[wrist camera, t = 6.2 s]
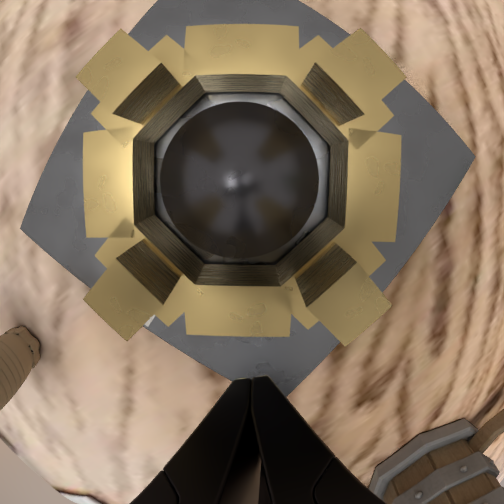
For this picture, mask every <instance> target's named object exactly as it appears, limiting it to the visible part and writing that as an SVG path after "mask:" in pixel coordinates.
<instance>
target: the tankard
mask: <svg viewBox="0 0 504 504" xmlns="http://www.w3.org/2000/svg"><path fill="white" fill-rule="evenodd" d="M503 432H504V409H503V410H502V411H500V412H499V413H498V414H497V415H495V416H494V417H493V418H492V419H490V420H489V421H488V422H486V423H485V424H484V426H483V427H482V428H481V429H480V430H478V429H477V428H475V427H474V426H473V425H472V424H471V423H469V422H468V421H467V420H466V419H461V420H458V421H456V422H453V423H450V424H448V425H445V426H442V427H439V428H437V429H434V430H431V431H428V432H425V433H422V434H419V435H418V436H416V437H415V438H414V439H413V440H411V441H410V442H409V443H408V444H406V445H405V446H404V447H403V448H401V449H400V450H399V451H397V452H396V453H395V454H393V455H392V456H391V457H389V458H388V459H387V460H385V461H384V462H382V463H381V464H380V465H378V466H377V467H376V469H375V472H374V475H373V478H372V481H371V484H370V486H369V490H371V491H372V492H373V493H374V494H375V495H377V496H378V497H379V498H380V499H382V500H383V501H384V502H386V503H387V504H504V487H501V485H500V484H499V482H498V480H497V479H496V477H497V476H498V475H499V470H498V469H497V467H496V466H495V464H494V462H493V460H491V459H490V458H488V457H487V456H485V455H484V454H483V453H484V451H485V450H486V449H487V448H488V447H489V446H490V445H491V444H492V442H493V441H494V440H495V439H496V438H497V437H498V435H500V434H502V433H503Z"/></svg>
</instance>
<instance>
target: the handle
mask: <svg viewBox="0 0 504 504" xmlns="http://www.w3.org/2000/svg"><path fill="white" fill-rule="evenodd" d="M39 359H40V354H39V342H38V340H37V339H36V338H34V337H33V336H32V335H31V334H30V333H29V332H28V330H27V328H25V327H22V326H21V327H19V328H12V329H10V330H8V331H7V332H5V334H3V335H1V336H0V410H1V409H2V408H3V407H4V406H5V405H6V404H7V403H8V402H9V401H10V399H11V398H12V397H13V396H14V395H15V393H16V392H17V391H18V389H19V388H20V387H21V385H22V384H23V382H24V381H25V379H26V378H27V376H28V375H29V373H30V371H31V369H32V368H34V367H35V366H36V364H37V363H38V361H39Z"/></svg>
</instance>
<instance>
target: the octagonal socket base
mask: <svg viewBox="0 0 504 504" xmlns="http://www.w3.org/2000/svg"><path fill="white" fill-rule="evenodd" d="M76 78H77V79H78V80H79V81H80V82H81V83H82V84H83V85H84V86H85V87H86V88H87V89H88V90H89V91H90V92H91V93H92V94H93V95H94V96H95V97H96V98H97V99H98V100H99V101H100V103H99V104H98V105H97V107H96V108H95V109H94V110H93V111H92V113H91V114H92V115H93V116H94V118H95V119H96V120H97V121H98V122H99V123H100V124H101V125H102V126H103V127H104V128H105V129H106V130H99V131H91V132H85V133H83V193H84V213H85V227H86V238H108V239H107V240H106V241H105V243H104V244H103V245H102V246H101V248H100V249H99V250H98V252H97V253H96V254H95V257H96V258H97V259H98V260H99V261H100V262H101V263H102V264H103V265H104V266H105V267H106V268H107V270H106V271H105V272H104V273H103V274H102V276H101V277H100V278H99V280H98V281H97V282H96V283H95V285H94V286H93V287H92V288H91V290H90V291H89V292H88V294H87V295H86V296H85V298H84V299H83V300H84V301H85V302H86V303H87V304H88V305H89V306H90V307H91V308H92V309H93V310H94V311H95V312H96V313H97V314H98V315H99V316H100V317H101V318H102V319H103V320H104V321H105V322H106V323H107V324H108V325H109V326H111V327H112V328H113V329H114V330H115V331H116V332H117V333H118V334H119V335H120V336H121V337H122V338H124V339H125V340H126V341H128V340H129V339H130V338H131V337H132V336H133V335H134V334H135V333H136V332H137V331H138V330H139V329H140V328H141V327H142V326H143V325H144V324H145V323H146V322H147V321H148V320H149V319H150V318H151V317H152V316H153V315H156V316H157V317H158V318H159V319H160V320H161V321H162V322H163V323H164V324H166V325H167V326H168V327H169V326H170V325H171V324H172V323H173V322H174V321H175V320H176V319H177V318H178V317H179V316H181V315H182V314H183V313H184V312H185V324H186V335H207V336H241V337H289V336H290V323H291V314H292V315H293V316H294V317H295V318H296V319H297V320H298V321H299V322H300V323H301V324H302V325H303V326H304V327H306V328H307V329H308V330H309V329H310V328H311V327H312V326H313V325H315V324H316V323H317V322H318V321H320V322H321V323H322V324H323V325H324V326H325V327H326V328H327V329H328V330H329V331H330V332H331V333H332V334H333V335H334V336H335V337H336V338H337V339H338V340H339V341H340V342H341V343H342V344H343V345H344V346H345V347H346V346H347V345H348V344H349V343H350V342H352V341H353V340H354V339H355V338H356V337H358V336H359V335H360V334H361V333H362V332H364V331H365V330H366V329H367V328H368V327H369V326H370V325H372V324H373V323H374V322H375V321H376V320H377V319H378V318H380V317H381V316H382V315H383V314H384V313H385V312H386V311H387V310H388V309H389V308H391V307H392V304H391V303H390V302H389V301H388V299H387V298H386V297H385V296H384V294H383V293H382V292H381V291H380V289H379V288H378V287H377V286H376V284H375V283H374V282H373V281H372V280H371V278H370V277H369V276H370V275H371V274H372V273H373V272H374V271H375V270H376V269H377V268H379V267H380V266H381V265H382V264H383V263H384V262H385V261H386V260H385V258H384V257H383V256H382V254H381V253H380V252H379V250H378V249H377V248H376V247H375V245H374V244H373V243H372V242H395V238H396V229H397V218H398V206H399V192H400V173H401V135H397V134H391V133H384V132H377V131H378V130H379V129H380V128H381V127H383V126H384V125H385V124H386V123H387V122H388V121H389V120H390V119H391V118H392V117H393V116H394V115H393V113H392V112H391V111H390V110H389V108H388V107H387V106H386V105H385V104H384V103H383V101H382V99H383V98H384V97H385V96H386V95H387V94H388V93H389V92H391V91H392V90H393V89H394V88H395V87H396V86H397V85H399V84H400V83H401V82H402V81H403V80H404V79H405V78H407V77H406V76H405V75H404V74H403V72H402V71H401V70H400V69H399V68H398V67H397V66H396V64H395V63H394V62H393V61H392V60H391V59H390V58H389V57H388V55H387V54H386V53H385V52H384V51H383V50H382V49H381V48H380V47H379V46H378V45H377V44H376V43H375V42H374V41H373V40H372V39H371V38H370V37H369V36H368V35H367V34H366V33H365V32H364V31H363V30H362V29H361V28H360V29H358V30H357V31H356V32H354V33H353V34H351V35H350V36H349V37H347V38H346V39H345V40H343V41H342V42H341V43H339V44H338V45H337V46H335V47H334V48H332V47H331V46H330V45H329V44H328V43H327V42H326V41H324V40H323V39H322V38H321V37H320V36H319V35H318V36H316V37H315V38H313V39H312V40H311V41H309V42H308V43H307V44H305V45H304V46H303V47H301V48H300V49H299V26H288V25H270V24H213V25H196V26H186V35H185V47H184V48H182V47H181V46H180V45H179V44H178V43H176V42H175V41H174V40H173V39H171V38H170V37H169V36H168V35H166V36H165V37H163V38H162V39H161V40H160V41H159V42H158V43H157V44H156V45H155V46H154V47H153V48H151V49H150V50H149V51H147V50H146V49H145V48H144V47H143V46H141V45H140V44H139V43H138V42H137V41H135V40H134V39H133V38H132V37H130V36H129V35H128V34H127V33H126V32H124V31H123V30H122V29H120V30H119V31H118V32H117V33H116V34H115V35H114V36H113V37H112V38H111V39H110V40H109V41H108V42H107V43H106V44H105V45H104V46H103V47H102V48H101V49H100V50H99V51H98V52H97V53H96V54H95V55H94V56H93V58H92V59H91V60H90V61H89V62H88V63H87V64H86V65H85V67H84V68H83V69H82V70H81V71H80V72H79V74H78V75H77V76H76ZM206 92H271V93H280V94H281V95H282V96H283V97H284V98H285V99H286V100H287V101H288V102H289V103H290V104H291V105H292V106H293V107H294V108H295V109H296V110H297V111H298V112H299V113H300V114H301V115H302V116H303V117H304V118H305V119H306V120H307V121H308V122H309V123H310V124H311V125H312V126H313V127H314V128H315V129H316V131H317V132H318V133H319V134H320V135H321V136H322V137H323V138H324V139H325V140H326V141H327V143H328V144H329V145H330V173H329V198H328V217H327V218H326V219H325V220H324V221H323V222H322V223H321V224H320V225H318V226H317V227H316V228H315V229H314V230H313V231H312V232H311V233H310V234H309V235H308V236H307V237H306V238H304V239H303V240H302V241H301V242H300V243H299V244H298V245H297V246H296V247H295V248H294V249H293V250H291V251H290V252H289V253H288V254H287V255H286V256H285V257H284V258H283V259H282V260H281V261H279V262H278V263H277V264H276V265H225V264H204V263H203V262H202V261H201V260H200V259H199V258H198V257H197V256H196V255H195V254H194V253H193V252H192V251H191V250H190V249H189V248H188V247H187V246H186V245H185V244H184V243H183V242H182V241H181V240H180V239H179V238H178V237H177V236H176V235H175V234H174V233H172V232H171V231H170V230H169V229H168V228H167V227H166V226H165V225H164V224H163V223H162V222H161V221H160V220H159V218H158V217H157V216H156V215H155V207H154V144H155V142H156V141H157V140H158V139H159V138H160V137H161V136H162V135H163V134H164V133H165V132H166V131H167V130H168V129H169V128H170V127H171V126H172V125H173V124H174V123H175V122H176V121H177V120H178V119H179V118H180V117H181V116H182V115H183V114H184V113H185V112H186V111H187V110H188V109H189V108H190V107H191V106H192V105H193V104H194V103H195V102H196V101H197V100H198V99H199V98H200V97H201V96H202V95H203V94H204V93H206ZM371 241H372V242H371Z"/></svg>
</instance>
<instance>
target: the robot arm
mask: <svg viewBox="0 0 504 504" xmlns="http://www.w3.org/2000/svg"><path fill="white" fill-rule="evenodd" d="M163 470H164V471H160V472H159V473H158V475H157V476H156V477H155V478H154V479H153V480H152V481H151V483H150V484H149V485H148V486H147V487H146V488H145V489H144V490H143V491H142V492H141V493H140V494H139V495H138V496H137V497H136V498H135V499H134V500H133V501H132V502H131V503H130V504H387V503H386V502H384V501H383V500H382V499H380V498H379V497H378V496H377V495H375V494H374V493H373V492H372V491H371V490H369V489H368V488H367V487H366V486H365V485H363V484H362V483H361V482H360V481H359V480H358V479H357V478H356V477H355V476H354V475H353V474H352V473H351V472H350V471H349V470H348V469H347V468H346V467H345V466H344V464H343V463H342V462H341V461H340V460H339V459H338V458H337V457H335V455H334V453H333V452H332V451H331V450H330V449H329V448H328V447H327V445H326V444H325V443H324V442H323V441H322V440H321V439H320V437H319V436H318V435H317V434H316V433H315V432H314V430H313V429H312V428H311V427H310V426H309V424H308V423H307V422H306V421H305V420H304V418H303V417H302V416H301V415H300V414H299V412H298V411H297V410H296V409H295V408H294V406H293V405H292V404H291V403H290V401H289V400H288V399H287V398H286V397H285V395H284V394H283V393H282V392H281V390H280V389H279V388H278V387H277V385H276V384H275V383H274V382H273V380H272V379H271V378H270V377H269V376H268V375H264V376H257V377H253V378H252V380H251V378H239V379H235V380H233V382H232V383H231V384H230V385H229V387H228V388H227V389H226V391H225V392H224V393H223V395H222V396H221V397H220V399H219V400H218V401H217V402H216V404H215V405H214V406H213V408H212V409H211V410H210V411H209V413H208V414H207V415H206V417H205V418H204V419H203V420H202V422H201V423H200V424H199V425H198V427H197V428H196V429H195V430H194V432H193V433H192V434H191V435H190V436H189V438H188V439H187V440H186V441H185V443H184V444H183V445H182V446H181V447H180V449H179V450H178V451H177V452H176V454H175V455H174V456H173V457H172V458H171V459H170V461H169V462H168V463H167V464H166V465H165V467H164V468H163Z"/></svg>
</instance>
